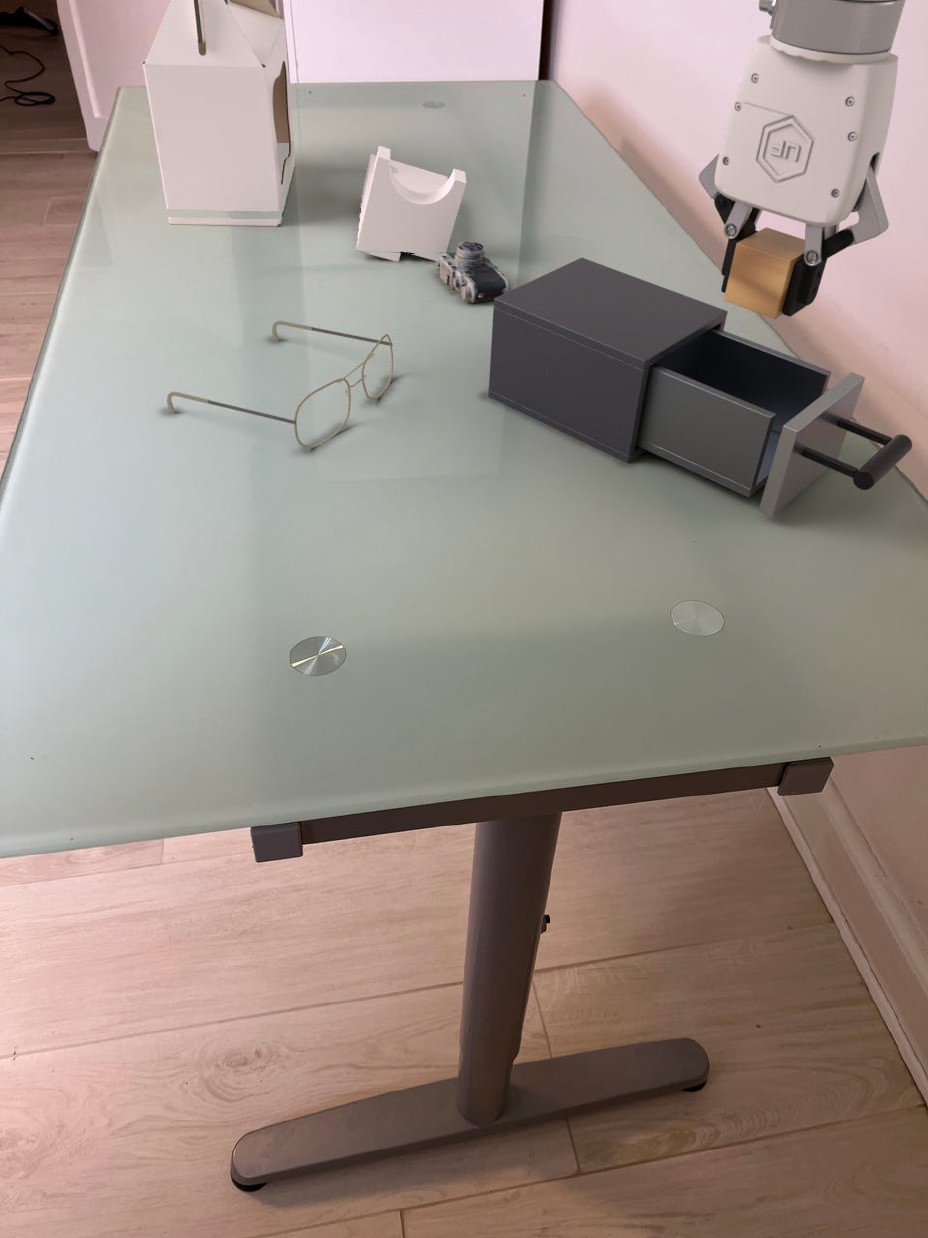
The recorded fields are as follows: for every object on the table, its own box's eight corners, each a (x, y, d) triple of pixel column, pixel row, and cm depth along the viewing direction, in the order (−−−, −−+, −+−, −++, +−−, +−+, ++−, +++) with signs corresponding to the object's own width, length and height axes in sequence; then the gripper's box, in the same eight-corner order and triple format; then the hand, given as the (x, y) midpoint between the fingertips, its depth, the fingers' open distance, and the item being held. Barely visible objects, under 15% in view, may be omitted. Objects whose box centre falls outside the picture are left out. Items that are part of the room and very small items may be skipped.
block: (803, 301, 75) (819, 243, 72) (775, 319, 72) (791, 260, 69) (752, 283, 77) (766, 226, 74) (723, 300, 75) (736, 242, 72)
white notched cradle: (439, 273, 114) (466, 183, 107) (356, 250, 111) (378, 156, 105) (436, 214, 127) (460, 130, 120) (361, 192, 125) (381, 106, 118)
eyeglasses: (311, 460, 82) (307, 407, 79) (168, 413, 87) (158, 361, 84) (405, 378, 93) (405, 328, 90) (273, 339, 98) (268, 291, 94)
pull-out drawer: (902, 487, 81) (936, 403, 76) (840, 550, 74) (872, 463, 69) (690, 397, 90) (708, 317, 85) (619, 446, 84) (633, 362, 79)
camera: (467, 309, 104) (468, 270, 101) (432, 270, 111) (432, 233, 108) (510, 302, 106) (513, 263, 103) (473, 264, 113) (475, 227, 110)
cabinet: (705, 409, 91) (728, 310, 84) (627, 464, 84) (645, 360, 77) (570, 351, 98) (581, 256, 92) (487, 397, 91) (493, 297, 84)
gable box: (280, 228, 119) (254, -51, 100) (168, 226, 118) (121, -55, 99) (296, 165, 135) (276, -84, 116) (198, 163, 134) (162, -88, 115)
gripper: (689, 6, 64) (643, 278, 77) (941, 60, 56) (845, 354, 69) (747, -9, 68) (695, 251, 81) (989, 40, 60) (890, 320, 73)
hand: (764, 296), depth 75 cm, fingers closed on block, 4 cm apart
